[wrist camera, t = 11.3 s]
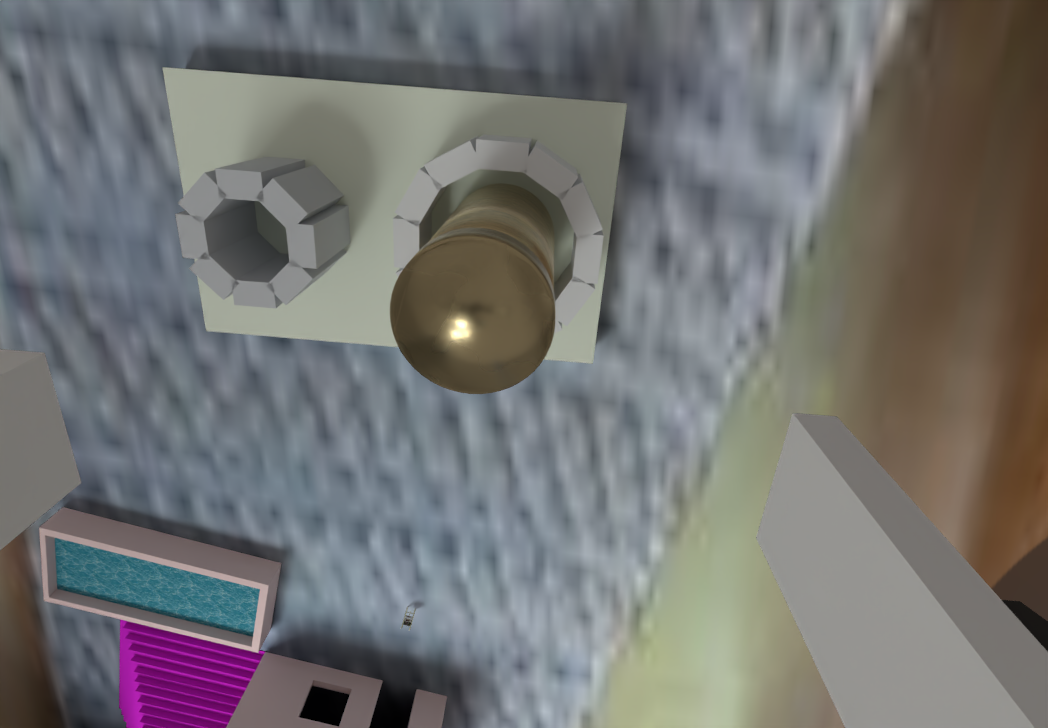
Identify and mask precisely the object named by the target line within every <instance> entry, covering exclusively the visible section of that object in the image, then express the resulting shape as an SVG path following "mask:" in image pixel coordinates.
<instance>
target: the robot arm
mask: <svg viewBox="0 0 1048 728" xmlns="http://www.w3.org/2000/svg"><path fill="white" fill-rule="evenodd" d="M79 484H81V479H80V476H79V472H78V469H77V465H76V462H75V458H74V455H73V451H72V448H71V444H70V441H69V437H68V434H67V430H66V427H65V423H64V420H63V416H62V413H61V409H60V405H59V402H58V398H57V395H56V391H55V388H54V384H53V381H52V377H51V374H50V370H49V367H48V363H47V360H46V356H45V353H41V352H29V351H16V350H4V349H1V350H0V550H1V549H2V548H3V547H5V546H6V545H7V544H8V543H10V542H11V541H12V540H13V539H14V538H16V537H17V536H18V535H19V534H20V533H22V532H23V531H24V530H25V529H26V528H28V527H29V526H30V525H31V524H32V523H34V522H35V521H36V520H37V519H38V518H40V517H41V516H42V515H43V514H44V513H46V512H47V511H48V510H49V509H50V508H52V507H53V506H54V505H55V504H56V503H58V502H59V501H60V500H61V499H63V498H64V497H65V496H66V495H67V494H69V493H70V492H71V491H72V490H73V489H75V488H76V487H77V486H78V485H79ZM756 538H757V541H758V543H759V545H760V547H761V549H762V551H763V553H764V556H765V558H766V560H767V562H768V564H769V566H770V568H771V570H772V573H773V575H774V577H775V579H776V581H777V583H778V585H779V587H780V590H781V592H782V594H783V596H784V598H785V600H786V602H787V605H788V607H789V609H790V611H791V613H792V615H793V617H794V619H795V622H796V624H797V626H798V628H799V630H800V632H801V634H802V637H803V639H804V641H805V643H806V645H807V647H808V649H809V651H810V654H811V656H812V658H813V660H814V662H815V664H816V666H817V668H818V671H819V673H820V675H821V677H822V679H823V681H824V683H825V686H826V688H827V690H828V692H829V694H830V696H831V698H832V700H833V703H834V705H835V707H836V709H837V711H838V713H839V715H840V718H841V720H842V722H843V724H844V726H845V728H1048V621H1046V620H1045V619H1043V618H1042V617H1041V616H1039V615H1038V614H1037V613H1035V612H1034V611H1032V610H1031V609H1030V608H1028V607H1027V606H1026V605H1024V604H1023V603H1021V602H1020V601H1008V600H1001V599H1000V598H999V597H998V596H997V595H996V594H995V592H994V591H993V590H992V589H991V588H990V587H989V586H988V585H987V584H986V582H985V581H984V580H983V579H982V578H981V577H980V576H979V575H978V574H977V572H976V571H975V570H974V569H973V568H972V567H971V566H970V565H969V563H968V562H967V561H966V560H965V559H964V558H963V557H962V556H961V555H960V553H959V552H958V551H957V550H956V549H955V548H954V547H953V546H952V545H951V543H950V542H949V541H948V540H947V539H946V538H945V537H944V536H943V534H942V533H941V532H940V531H939V530H938V529H937V528H936V527H935V526H934V524H933V523H932V522H931V521H930V520H929V519H928V518H927V517H926V516H925V514H924V513H923V512H922V511H921V510H920V509H919V508H918V507H917V505H916V504H915V503H914V502H913V501H912V500H911V499H910V498H909V497H908V495H907V494H906V493H905V492H904V491H903V490H902V489H901V488H900V487H899V485H898V484H897V483H896V482H895V481H894V480H893V479H892V478H891V476H890V475H889V474H888V473H887V472H886V471H885V470H884V469H883V468H882V466H881V465H880V464H879V463H878V462H877V461H876V460H875V459H874V458H873V456H872V455H871V454H870V453H869V452H868V451H867V450H866V449H865V447H864V446H863V445H862V444H861V443H860V442H859V441H858V440H857V439H856V437H855V436H854V435H853V434H852V433H851V432H850V431H849V430H848V429H847V427H846V426H845V425H844V424H843V423H842V422H841V421H840V420H839V418H838V417H837V416H825V415H812V414H800V413H793V414H792V417H791V421H790V424H789V427H788V431H787V434H786V438H785V441H784V444H783V448H782V451H781V455H780V458H779V461H778V465H777V468H776V472H775V475H774V479H773V482H772V485H771V489H770V492H769V496H768V499H767V502H766V506H765V509H764V513H763V516H762V519H761V523H760V526H759V530H758V533H757V537H756Z"/></svg>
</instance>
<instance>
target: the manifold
mask: <svg viewBox="0 0 1048 728" xmlns="http://www.w3.org/2000/svg"><path fill="white" fill-rule="evenodd" d="M162 68H163V67H162ZM163 74H164V80H165V86H166V92H167V98H168V104H169V110H170V116H171V122H172V128H173V134H174V140H175V146H176V152H177V158H178V164H179V170H180V176H181V182H182V188H183V194H184V197H183V198H182V199H181V200H180V201H179V202H178V204H179V205H180V206H181V207H182V208H184V209H185V210H186V211H183V212H180V213H177V214H175V216H176V222H177V228H178V233H179V239H180V245H181V250H182V256H183V258H192V259H194V260H195V263H194V264H193V265H192V266H191V267H190V268H189V269H190V270H191V271H192V272H193V273H194V274H195V275H197V279H198V285H199V291H200V297H201V303H202V309H203V315H204V321H205V327H206V331H211V332H223V333H235V334H247V335H259V336H271V337H283V338H294V339H306V340H318V341H330V342H342V343H354V344H366V345H378V346H389V347H398V345H397V343H396V340H395V338H394V335H393V332H392V328H391V323H390V301H391V295H392V291H393V288H394V285H395V283H396V281H397V279H398V277H399V275H400V273H401V272H402V270H403V269H404V268H405V266H406V265H407V264H408V263H409V261H410V260H411V259H412V258H413V257H414V255H415V254H416V253H417V252H418V251H419V250H420V249H421V248H422V247H423V246H424V245H426V244H427V243H428V242H429V241H430V239H431V238H432V237H433V236H434V235H435V233H436V232H437V231H438V230H439V229H440V227H441V226H442V225H443V224H444V223H445V221H446V220H447V219H448V218H449V217H450V215H451V214H452V213H453V212H454V211H455V210H456V208H457V207H458V206H459V205H460V204H461V202H462V201H463V200H464V199H465V198H466V197H467V196H468V195H470V194H471V193H472V192H474V191H475V190H477V189H479V188H481V187H484V186H487V185H490V184H497V183H506V184H512V185H516V186H519V187H522V188H524V189H526V190H528V191H529V192H531V193H532V194H534V195H535V196H536V197H537V198H538V199H539V200H540V201H541V202H542V203H543V204H544V206H545V207H546V209H547V211H548V212H549V214H550V217H551V219H552V222H553V227H554V294H555V330H554V336H553V340H552V343H551V346H550V348H549V350H548V352H547V355H546V356H545V358H544V360H556V361H568V362H579V363H591V364H593V359H594V351H595V343H596V336H597V328H598V321H599V313H600V305H601V298H602V290H603V283H604V275H605V267H606V260H607V252H608V245H609V237H610V229H611V222H612V214H613V207H614V199H615V191H616V184H617V176H618V169H619V161H620V153H621V146H622V138H623V131H624V123H625V115H626V108H627V104H626V103H618V102H605V101H593V100H580V99H567V98H554V97H541V96H529V95H516V94H503V93H490V92H477V91H465V90H452V89H439V88H426V87H413V86H401V85H388V84H375V83H362V82H349V81H337V80H324V79H311V78H298V77H285V76H273V75H260V74H247V73H234V72H221V71H209V70H196V69H182V68H163Z"/></svg>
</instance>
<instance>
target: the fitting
mask: <svg viewBox="0 0 1048 728" xmlns="http://www.w3.org/2000/svg"><path fill="white" fill-rule="evenodd" d="M390 323H391V328H392V332H393V335H394V338H395V340H396V343H397V345H398V347H399V349H400V351H401V352H402V354H403V355H404V357H405V358H406V360H407V361H408V362H409V363H410V364H411V365H412V366H413V368H414V369H416V370H417V371H418V372H419V373H420V374H421V375H423V376H424V377H425V378H427V379H428V380H430V381H432V382H433V383H435V384H437V385H439V386H441V387H444V388H447V389H449V390H453V391H457V392H461V393H468V394H485V393H492V392H497V391H501V390H504V389H507V388H510V387H512V386H514V385H516V384H518V383H519V382H521V381H522V380H524V379H525V378H527V377H528V376H529V375H530V374H531V373H533V372H534V371H535V370H536V368H537V367H538V366H539V365H540V364H541V362H542V361H543V359H544V358H545V356H546V355H547V352H548V350H549V348H550V346H551V343H552V340H553V336H554V330H555V294H554V227H553V222H552V219H551V217H550V214H549V212H548V211H547V209H546V207H545V206H544V204H543V203H542V202H541V201H540V200H539V199H538V198H537V197H536V196H535V195H534V194H532V193H531V192H529V191H528V190H526V189H524V188H522V187H519V186H516V185H512V184H506V183H497V184H490V185H487V186H484V187H481V188H479V189H477V190H475V191H474V192H472V193H471V194H470V195H468V196H467V197H466V198H465V199H464V200H463V201H462V202H461V204H460V205H459V206H458V207H457V208H456V210H455V211H454V212H453V213H452V214H451V215H450V217H449V218H448V219H447V220H446V221H445V223H444V224H443V225H442V226H441V227H440V229H439V230H438V231H437V232H436V233H435V235H434V236H433V237H432V238H431V239H430V241H429V242H428V243H427V244H426V245H424V246H423V247H422V248H421V249H420V250H419V251H418V252H417V253H416V254H415V255H414V257H413V258H412V259H411V260H410V261H409V263H408V264H407V265H406V266H405V268H404V269H403V270H402V272H401V273H400V275H399V277H398V279H397V281H396V283H395V285H394V288H393V291H392V295H391V301H390Z"/></svg>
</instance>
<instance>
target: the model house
mask: <svg viewBox="0 0 1048 728" xmlns="http://www.w3.org/2000/svg"><path fill="white" fill-rule="evenodd" d="M39 534H40V549H41V565H42V580H43V596H44V601H47V602H51V603H55V604H59V605H63V606H67V607H72V608H76V609H80V610H84V611H88V612H92V613H96V614H100V615H104V616H109V617H113V618H117V619H120V683H119V708H120V709H122V714H121V715H124V721H125V722H126V728H369V726H370V723H371V719H372V716H373V713H374V709H375V706H376V702H377V699H378V695H379V692H380V688H381V685H382V682H383V680H379V679H374V678H370V677H366V676H362V675H358V674H354V673H350V672H346V671H342V670H338V669H334V668H329V667H325V666H321V665H317V664H313V663H309V662H305V661H301V660H297V659H293V658H288V657H284V656H280V655H276V654H272V653H268V652H265V651H261V650H260V649H261V647H262V645H263V643H264V641H265V639H266V637H267V635H268V633H269V631H270V629H271V624H272V618H273V612H274V606H275V600H276V594H277V588H278V581H279V575H280V569H281V563H279V562H275V561H271V560H267V559H263V558H259V557H256V556H252V555H248V554H244V553H240V552H236V551H232V550H228V549H224V548H221V547H217V546H213V545H209V544H205V543H201V542H197V541H193V540H189V539H185V538H182V537H178V536H174V535H170V534H166V533H162V532H158V531H154V530H150V529H147V528H143V527H139V526H135V525H131V524H127V523H123V522H119V521H115V520H111V519H108V518H104V517H100V516H96V515H92V514H88V513H84V512H80V511H76V510H73V509H69V508H65V507H62V508H61V509H60V510H59V511H58V512H57V513H55V514H54V515H53V516H52V517H51V518H50V519H48V520H47V521H46V522H45V523H44V524H42V525H41V526H40V527H39ZM407 609H408V607H407ZM415 610H416V609H415ZM415 610H414V613H412V614H413V617H414V614H415ZM410 612H411V611H410ZM410 612H408V613H410ZM406 613H407V610H406ZM406 613H405V617H404V620H403V624H402V627H403V625H407V626H410V628H411V625H412V621H413V617H411V616H410V615H409V616H407V615H406ZM402 627H401V628H402ZM410 628H409V630H410ZM312 686H317V687H321V688H325V689H329V690H333V691H337V692H342V693H346V694H350V695H349V698H348V701H347V704H346V707H345V710H344V713H343V716H342V719H341V722H340V725H339V727H338V726H334V725H330V724H326V723H321V722H317V721H313V720H309V719H304V718H300V714H301V712H302V709H303V707H304V704H305V702H306V699H307V697H308V694H309V692H310V690H311V687H312ZM446 700H447V696H444V695H440V694H436V693H432V692H428V691H424V690H419V689H417V690H416V693H415V697H414V701H413V706H412V710H411V714H410V719H409V723H408V727H407V728H442V723H443V717H444V712H445V706H446Z"/></svg>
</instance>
